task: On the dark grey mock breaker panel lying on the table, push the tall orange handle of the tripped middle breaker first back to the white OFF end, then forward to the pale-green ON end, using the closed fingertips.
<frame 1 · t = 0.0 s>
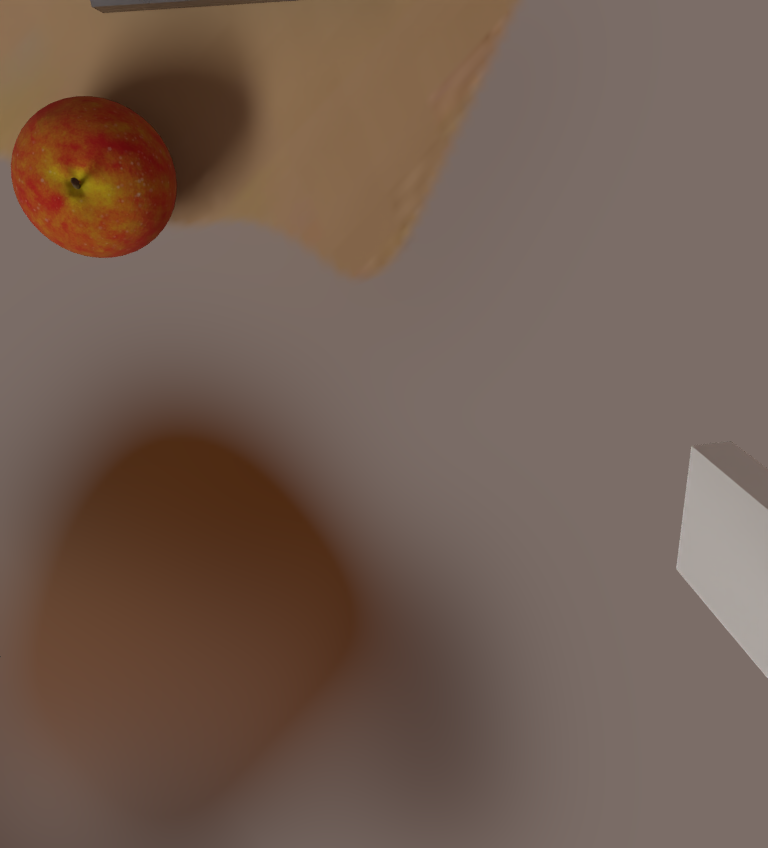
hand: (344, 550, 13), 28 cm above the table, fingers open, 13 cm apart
fruit: (116, 173, 36), on the table
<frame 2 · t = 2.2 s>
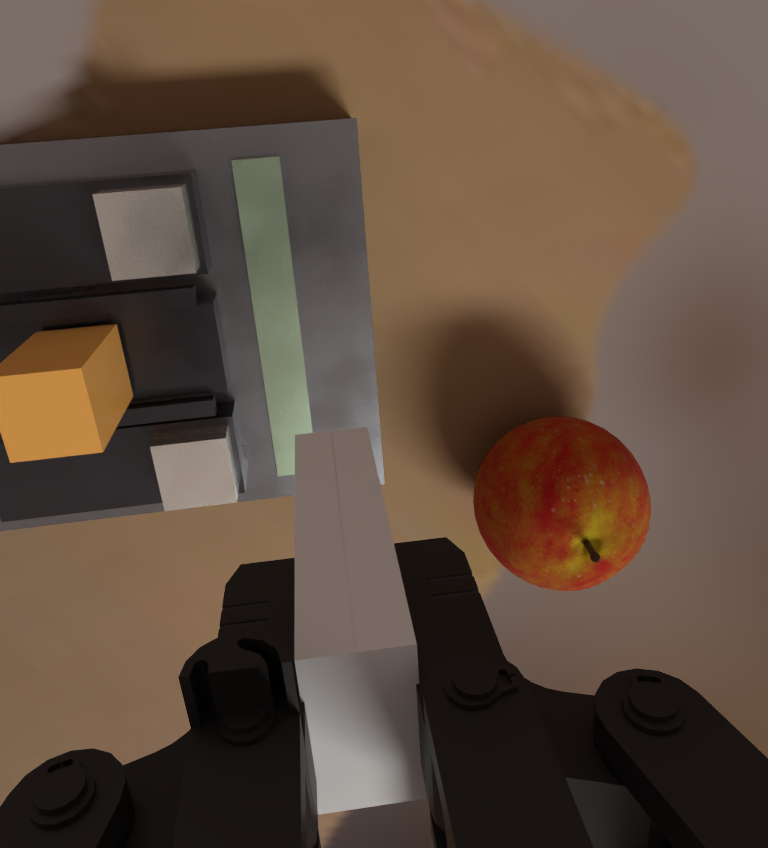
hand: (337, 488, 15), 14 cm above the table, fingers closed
panel: (111, 333, 27), on the table
fruit: (530, 461, 32), on the table
tripped breaker: (67, 388, 22), point 6 cm above the table, slide at 0.0 cm
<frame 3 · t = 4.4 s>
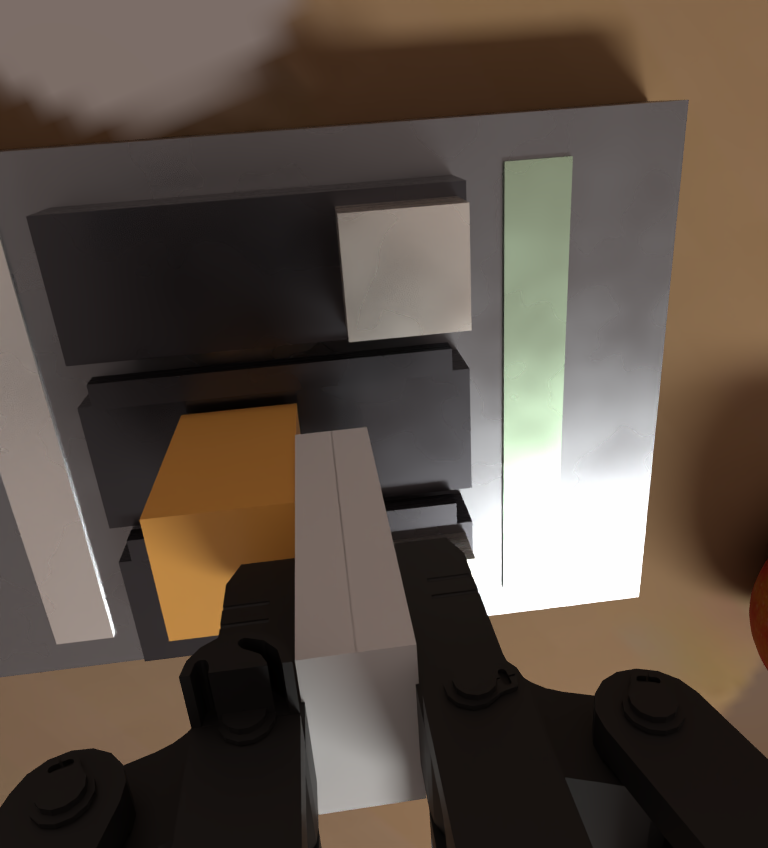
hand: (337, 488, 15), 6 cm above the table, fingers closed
panel: (288, 396, 20), on the table
tripped breaker: (239, 509, 14), point 6 cm above the table, slide at -0.9 cm, touching gripper
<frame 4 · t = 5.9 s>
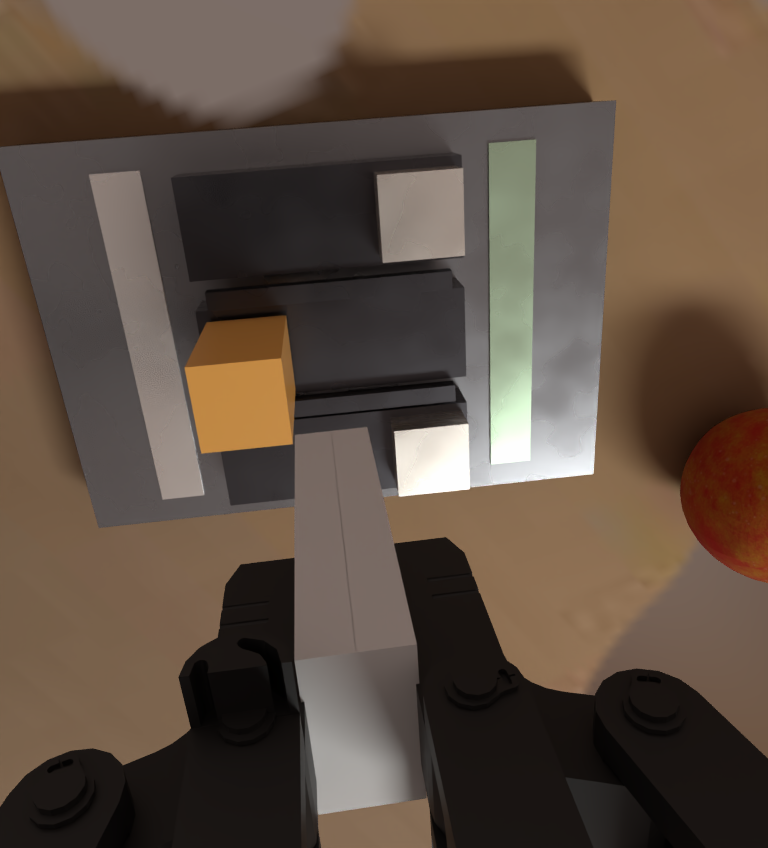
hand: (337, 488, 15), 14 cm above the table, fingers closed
panel: (332, 318, 27), on the table
fruit: (724, 453, 32), on the table
tripped breaker: (246, 379, 22), point 6 cm above the table, slide at -2.8 cm
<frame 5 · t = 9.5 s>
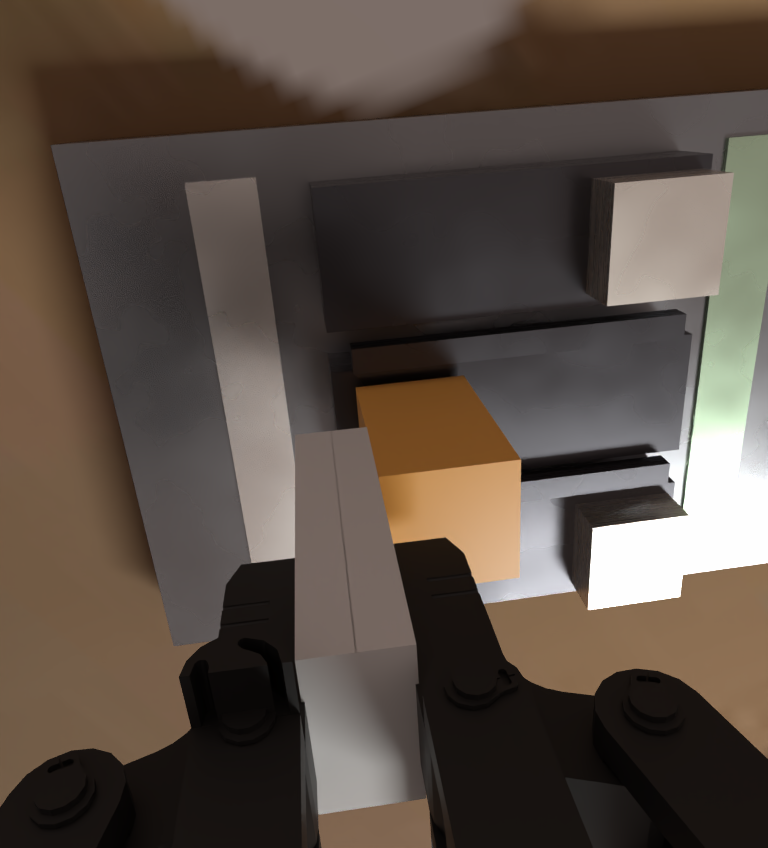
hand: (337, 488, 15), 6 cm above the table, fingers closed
panel: (480, 368, 21), on the table
tripped breaker: (430, 473, 15), point 6 cm above the table, slide at -2.7 cm, touching gripper
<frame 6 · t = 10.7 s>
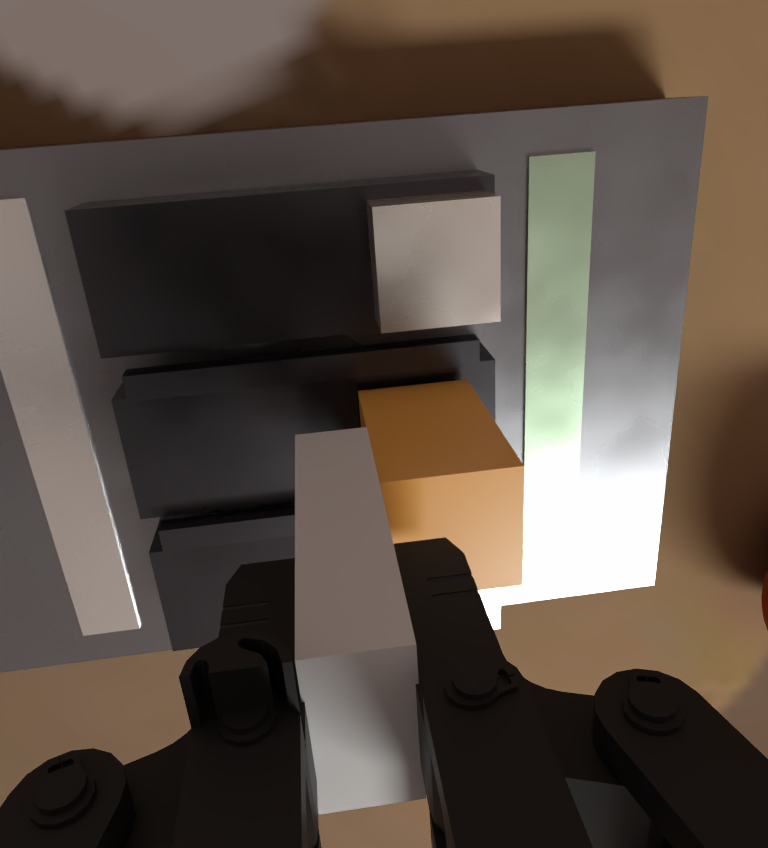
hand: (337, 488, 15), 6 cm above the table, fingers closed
panel: (311, 389, 20), on the table
tripped breaker: (432, 478, 15), point 6 cm above the table, slide at 2.4 cm, touching gripper
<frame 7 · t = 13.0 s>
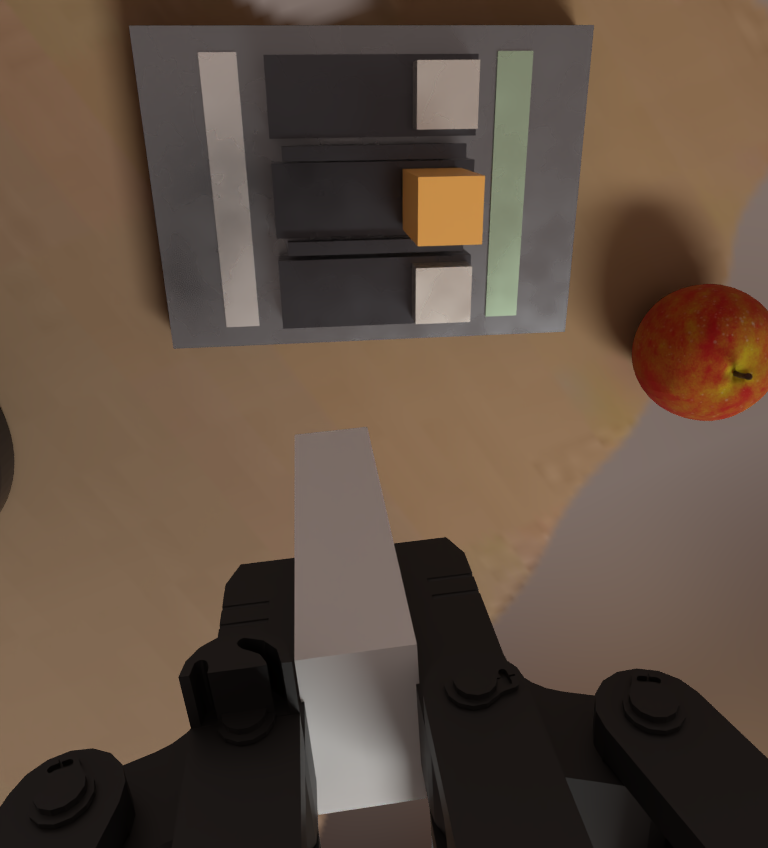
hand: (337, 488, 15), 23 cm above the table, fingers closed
panel: (368, 191, 35), on the table
fruit: (669, 332, 40), on the table
tripped breaker: (440, 204, 30), point 6 cm above the table, slide at 2.5 cm
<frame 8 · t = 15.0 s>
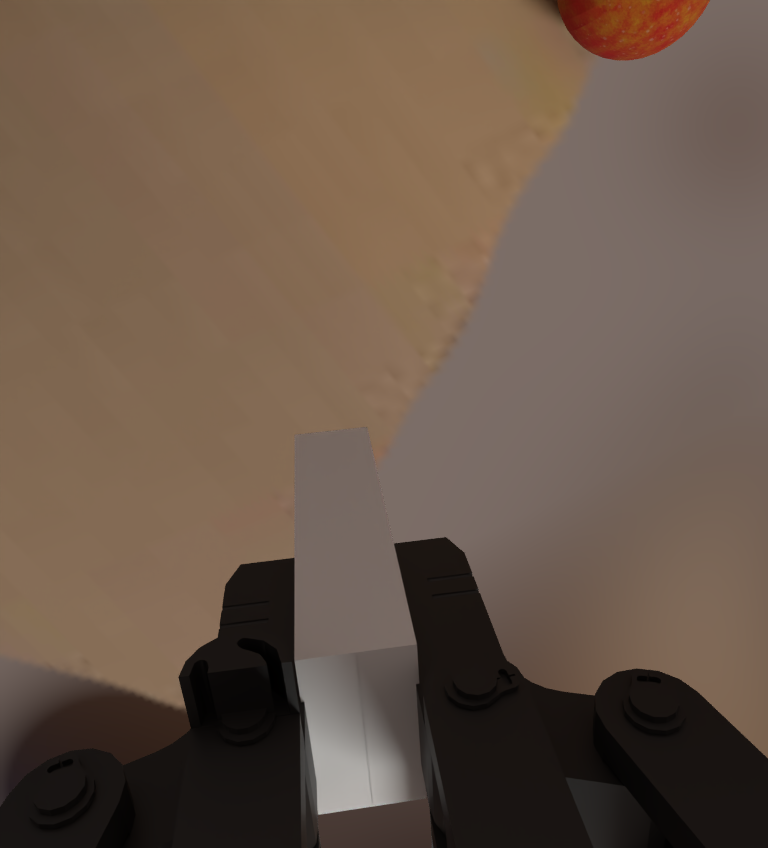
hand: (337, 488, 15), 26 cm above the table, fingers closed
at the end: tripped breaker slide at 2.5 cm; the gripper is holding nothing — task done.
